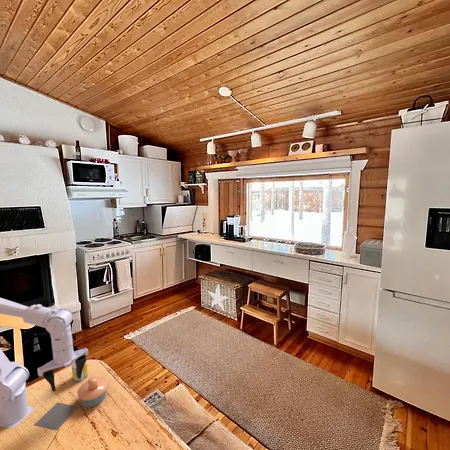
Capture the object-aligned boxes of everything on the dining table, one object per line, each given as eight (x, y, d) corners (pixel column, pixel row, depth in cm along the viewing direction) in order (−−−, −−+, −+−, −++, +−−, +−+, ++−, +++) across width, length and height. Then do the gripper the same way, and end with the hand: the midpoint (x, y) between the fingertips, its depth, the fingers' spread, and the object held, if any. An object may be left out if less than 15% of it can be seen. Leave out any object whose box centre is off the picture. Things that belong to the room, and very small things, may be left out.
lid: (70, 398, 89) (69, 388, 88) (91, 377, 98) (90, 368, 98) (96, 402, 87) (95, 392, 86) (114, 381, 97) (113, 372, 96)
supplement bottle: (86, 371, 108) (84, 350, 106) (90, 378, 104) (87, 356, 102) (71, 378, 104) (69, 356, 103) (74, 385, 100) (72, 362, 99)
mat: (34, 426, 83) (33, 424, 83) (57, 403, 91) (57, 402, 91) (57, 431, 81) (56, 430, 81) (79, 408, 89) (78, 406, 89)
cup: (76, 406, 90) (75, 396, 90) (92, 389, 98) (91, 379, 97) (96, 410, 89) (95, 399, 88) (111, 392, 96) (110, 382, 96)
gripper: (39, 362, 77) (44, 402, 79) (90, 341, 88) (93, 377, 90) (34, 353, 82) (38, 391, 84) (82, 334, 93) (86, 368, 94)
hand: (66, 383), depth 87 cm, fingers open, 7 cm apart
